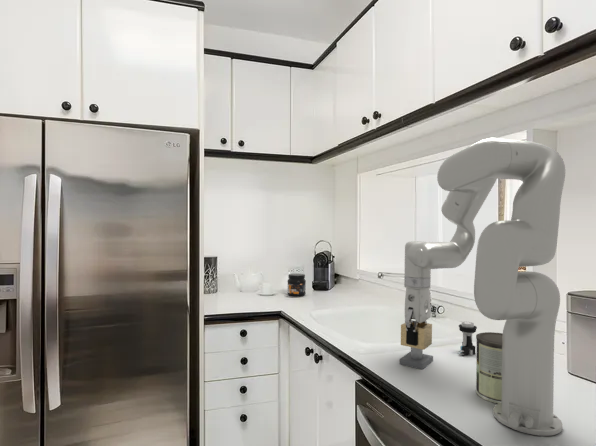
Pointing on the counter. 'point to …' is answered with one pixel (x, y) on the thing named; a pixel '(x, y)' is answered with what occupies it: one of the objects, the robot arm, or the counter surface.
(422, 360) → the piston block
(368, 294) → the counter surface
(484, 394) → the coffee can
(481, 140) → the robot arm
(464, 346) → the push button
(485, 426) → the counter surface
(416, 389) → the counter surface
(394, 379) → the counter surface
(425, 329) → the collar
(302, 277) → the supplement container
